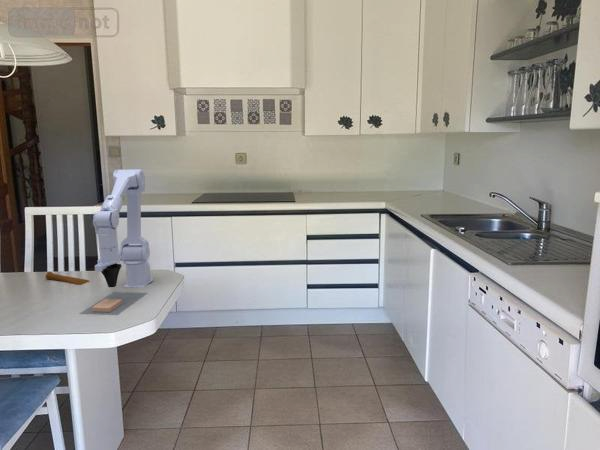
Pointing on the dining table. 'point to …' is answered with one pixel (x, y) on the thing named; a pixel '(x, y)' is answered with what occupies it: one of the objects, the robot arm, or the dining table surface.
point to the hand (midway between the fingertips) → (112, 286)
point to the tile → (107, 305)
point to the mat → (127, 301)
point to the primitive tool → (65, 279)
